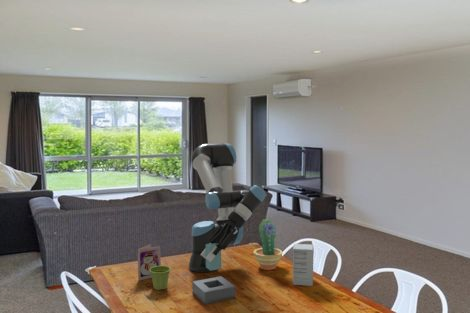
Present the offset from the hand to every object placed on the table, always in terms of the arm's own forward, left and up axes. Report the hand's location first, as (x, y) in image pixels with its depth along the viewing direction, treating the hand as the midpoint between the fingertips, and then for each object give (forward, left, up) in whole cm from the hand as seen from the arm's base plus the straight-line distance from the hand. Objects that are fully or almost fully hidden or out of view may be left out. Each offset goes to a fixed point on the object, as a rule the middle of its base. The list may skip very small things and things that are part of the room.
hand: (205, 258), depth 179 cm
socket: (+1, +3, -17) cm, 17 cm away
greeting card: (-40, +1, -17) cm, 43 cm away
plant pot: (-24, -5, -17) cm, 30 cm away
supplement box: (+24, +40, -17) cm, 50 cm away
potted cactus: (-1, +48, -17) cm, 51 cm away
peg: (+2, +3, -5) cm, 6 cm away
